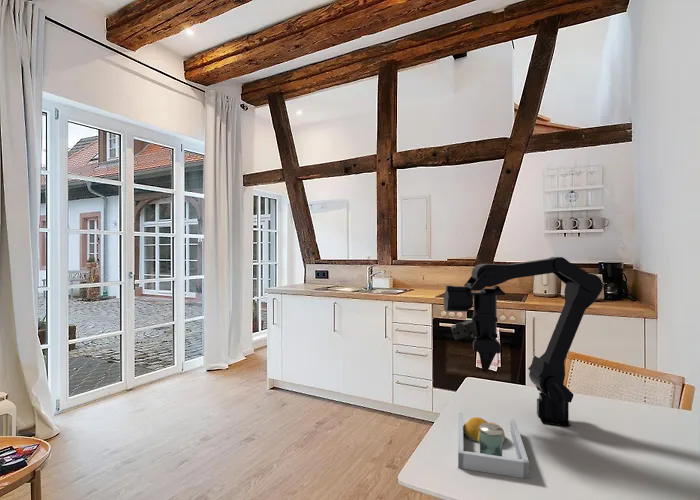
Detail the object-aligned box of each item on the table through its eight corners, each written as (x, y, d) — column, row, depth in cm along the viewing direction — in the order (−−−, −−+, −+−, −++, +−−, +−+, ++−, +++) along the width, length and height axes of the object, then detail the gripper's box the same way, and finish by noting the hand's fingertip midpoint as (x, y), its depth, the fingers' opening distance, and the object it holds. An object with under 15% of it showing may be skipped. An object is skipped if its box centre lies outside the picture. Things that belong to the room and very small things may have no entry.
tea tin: (504, 465, 77) (504, 434, 77) (480, 461, 79) (480, 431, 79) (501, 453, 82) (501, 424, 82) (478, 450, 83) (478, 421, 83)
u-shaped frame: (514, 431, 92) (514, 419, 92) (529, 478, 73) (529, 462, 73) (458, 424, 95) (458, 412, 95) (458, 467, 76) (458, 452, 76)
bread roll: (494, 451, 83) (494, 432, 83) (458, 436, 90) (458, 419, 90) (511, 438, 89) (511, 421, 89) (476, 426, 95) (476, 409, 96)
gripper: (453, 306, 111) (453, 360, 111) (452, 315, 93) (451, 380, 93) (494, 307, 108) (494, 363, 108) (501, 318, 90) (501, 385, 90)
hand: (484, 372), depth 100 cm, fingers closed
